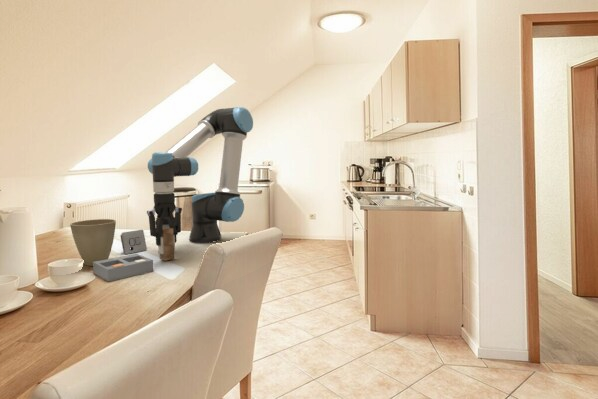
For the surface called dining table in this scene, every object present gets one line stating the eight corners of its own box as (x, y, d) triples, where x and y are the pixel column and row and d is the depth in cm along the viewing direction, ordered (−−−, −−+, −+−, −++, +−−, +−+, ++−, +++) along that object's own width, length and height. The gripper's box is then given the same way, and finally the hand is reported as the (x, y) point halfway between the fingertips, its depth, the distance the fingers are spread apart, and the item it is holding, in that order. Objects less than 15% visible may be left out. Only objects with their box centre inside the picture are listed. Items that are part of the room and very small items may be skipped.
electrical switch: (125, 255, 147) (123, 232, 147) (120, 254, 151) (117, 232, 150) (147, 250, 155) (145, 229, 154) (141, 250, 158) (139, 229, 158)
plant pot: (124, 257, 143) (122, 218, 141) (106, 269, 128) (103, 225, 127) (86, 258, 143) (84, 218, 141) (63, 269, 128) (60, 225, 126)
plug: (169, 256, 143) (168, 227, 141) (174, 258, 140) (173, 228, 139) (159, 258, 140) (158, 228, 138) (165, 260, 137) (163, 230, 136)
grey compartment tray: (137, 264, 135) (136, 252, 134) (153, 271, 126) (152, 259, 125) (93, 273, 123) (92, 261, 123) (108, 281, 115) (107, 268, 114)
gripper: (146, 195, 128) (150, 258, 131) (189, 191, 141) (191, 249, 143) (137, 193, 133) (140, 254, 136) (179, 190, 146) (181, 246, 148)
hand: (166, 252), depth 140 cm, fingers closed on plug, 4 cm apart
